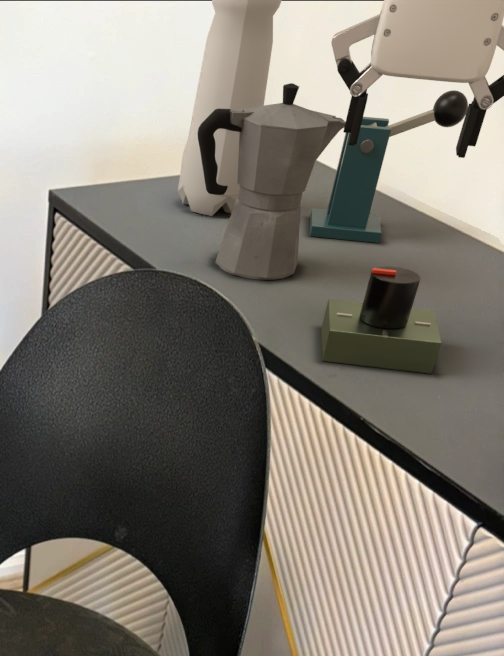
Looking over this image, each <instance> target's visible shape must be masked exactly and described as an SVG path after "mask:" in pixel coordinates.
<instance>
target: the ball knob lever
mask: <svg viewBox="0 0 504 656" xmlns="http://www.w3.org/2000/svg"><path fill="white" fill-rule="evenodd" d="M468 106H469V102H468V98H467V96H466V95H465V94H464V93H463V92H461V91H459V90H455V89H454V90H449V91H446V92H444V93H442V94H441V95H439V97H438V98H437V99H436V101H435V102H434V104H433V107H432V109H430V110H427V111H425V112H424V111H423V112H422V113H419V114H416V115H413V116H411V117H408V118H406V119H403V120H400V121H397V122H394V123H391V124H388V126H386V127H390V128H391V132H390V136H389V138H391V137H394V136H397V135H400V134H402V133H405V132H407V131H410V130H413V129H415V128H418V127H421V126H425V125H427V124H430V123H432V122H435V123H436V124H437V125H438V126H440V127H442V128H452V127H454V126H457V125H458V124H459V123H461V122H462V121H464V119H465V116H466V112H467V109H468ZM367 126H377V124H376V122H375V123H372V124H369V125H367Z"/></svg>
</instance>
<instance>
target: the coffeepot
mask: <svg viewBox="0 0 504 656" xmlns="http://www.w3.org/2000/svg"><path fill="white" fill-rule="evenodd" d="M299 88H300V85H298V84H296V83H293V82H292V83H291V82H290V83H286V84H283V86H282V102H277V103H271V104H264V106H257V107H250V108H245V110H244V109H215V110H214V111H213V112H212V113H211V114H210V115H209V116H208V117H207V118H206V119H205V120H204V121H203V122H202V123H201V125H200V126H199V128H198V133H197V134H198V142H199V147H200V153H201V160H202V166H203V172H204V179H205V185H206V190H207V192H208V193H209V194H213V195H224V194H225V192H226V191H227V188H228V186H223V185H219V184H217V181H216V178H217V172H218V166H217V163H216V160H215V149H216V144H215V139H214V132H215V131H216V130H217V129H226V130H230V131H236V132H240V135H239V158H238V181H237V183H238V184H239V185H240V189H239V194H238V199H237V200H236V202H235V205H234V208H233V211H232V214H231V213H230V217H229V220H228V223H227V226H226V229H225V232H224V236H223V238H222V241H221V245H220V246H219V250H218V253H217V256H216V259H215V264H216V265H217V266H218V267H219V268H220V270H222V271H224V272H226V273H228V274H231V275H233V276H235V277H236V276H237V277H240V278H245V279H250V280H260V281H261V280H262V281H269V280H270V281H272V280H280V279H281V280H282V279H286V278H288V277H290V276H292V275H294V273H295V272H296V268H297V265H298V259H299V246H300V245H299V244H300V243H299V242H300V227H301V212H302V211H301V209H302V207H301V206H300V205H301V203H302V197H303V193H304V192H305V191H306V188H307V186H308V183H309V180H310V177H311V174H312V172H313V169H314V167H315V163H316V161H317V160H318V158H319V157H320V156H321V154H322V153H323V152H324V151H325V149H326V148H327V147H328V146H329V145H330V143H331V141H332V140H333V139H335V137H336V136H337V134H338V133H339V132H341V131H342V129H344V127H345V123H346V120H344V119H343V118H341V117H337V116H336V115H333V114H329V113H324V112H320V111H316V110H311V109H309V108H307V107H304V106H300V105H298V104H295V103H294V102H295V99H296V97H297V94H298V91H299Z"/></svg>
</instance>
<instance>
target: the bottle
mask: <svg viewBox="0 0 504 656" xmlns="http://www.w3.org/2000/svg"><path fill="white" fill-rule="evenodd" d="M211 4H212V8H213V10H214V15H213V18H212V21H211V24H210V27H209V30H208V34H207V35H206V39H205V40H206V42H205V46H204V51H203V56H202V61H201V67H200V73H199V77H198V83H197V89H196V93H195V98H194V104H193V109H192V114H191V120H190V125H189V130H188V136H187V140H186V142H185V145H184V149H183V151H182V157H181V165H180V172H179V180H178V181H179V182H178V187H177V193H178V196H179V198H180V201H181V203H182V205H189V208H190V211H191V212H194V213H197V214H200V215H205V216H209V217H213V216H214V215H215V214H216V213H217V212H218V211H219V210H220V209H221V208H222V209H223V210H224V212H225V213H227V214H228V213H229V214H230V215H231V214H232V211H233V208H234V205H235V202H236V200H237V199H238V194H239V189H240V185H239V184H238V183H237V181H238V158H239V135H240V132H236V131H230V130H226V129H217V130H216V131H215V132H214V139H215V144H216V149H215V160H216V163H217V166H218V172H217V178H216V181H217V184H219V185H223V186H228V188H227V191H226V192H225V194H224V195H213V194H209V193H208V192H207V190H206V185H205V179H204V172H203V166H202V160H201V153H200V147H199V142H198V134H197V133H198V128H199V126H200V125H201V123H202V122H203V121H204V120H205V119H206V118H207V117H208V116H209V115H210V114H211V113H212V112H213V111H214V110H215V109H244V110H245V108H250V107H257V106H264V105H265V99H266V92H267V85H268V79H269V73H270V72H269V71H270V65H271V59H272V58H271V57H272V51H273V43H274V16H275V14H276V12H278V10H279V8H280V7H281V4H282V0H211Z"/></svg>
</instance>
